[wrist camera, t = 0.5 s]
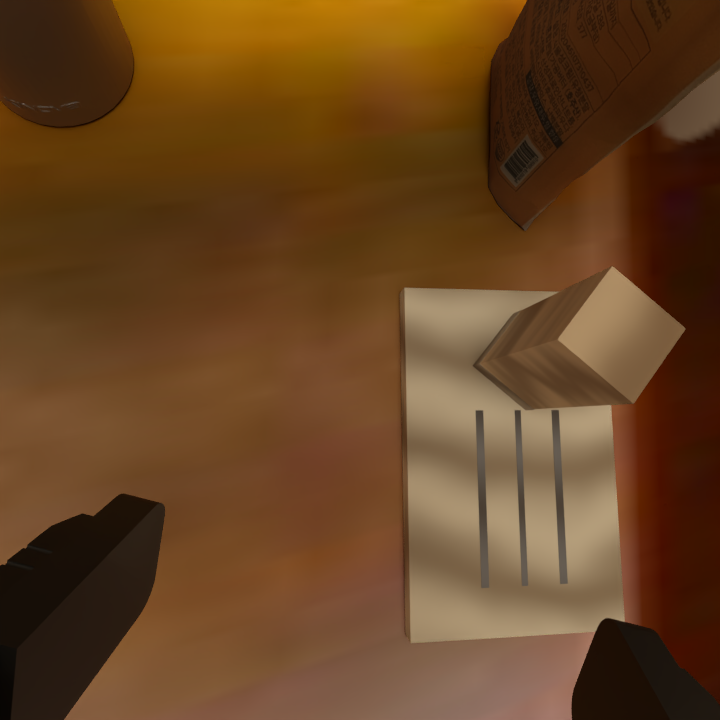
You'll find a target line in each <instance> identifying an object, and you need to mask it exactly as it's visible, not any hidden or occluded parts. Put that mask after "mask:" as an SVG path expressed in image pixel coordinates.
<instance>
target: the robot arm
mask: <svg viewBox="0 0 720 720" xmlns="http://www.w3.org/2000/svg"><path fill="white" fill-rule="evenodd" d="M133 64H134V58H133V53H132V48H131V45H130V42H129V40H128V38H127V35H126V33H125V30H124V28H123V26H122V23H121V21H120V19H119V16H118V14H117V11H116V9H115V7H114V4H113V2H112V0H0V101H2V102H3V103H4V104H5V105H6V106H7V107H8V108H9V109H10V110H11V111H13V112H15V113H16V114H18V115H20V116H21V117H23V118H25V119H27V120H30V121H33V122H35V123H38V124H42V125H48V126H55V127H63V126H75V125H80V124H84V123H88V122H90V121H93V120H95V119H97V118H99V117H101V116H103V115H104V114H106V113H107V112H109V111H110V110H111V109H113V108H114V107H115V106H116V105H117V103H118V102H119V101H120V100H121V99H122V98H123V96H124V95H125V93H126V91H127V89H128V87H129V86H130V82H131V79H132V75H133ZM164 517H165V507H164V505H163V504H162V503H159V502H155V501H151V500H147V499H143V498H139V497H135V496H131V495H127V494H120V495H118V496H117V497H116V498H114V499H113V500H112V501H111V502H110V503H109V504H107V505H106V506H105V507H104V508H103V509H102V510H100V511H99V512H98V513H97V514H96V515H95V516H90V515H86V514H80V515H77V516H75V517H72V518H70V519H67V520H65V521H62V522H60V523H57V524H55V525H53V526H51V527H49V528H48V529H47V530H46V531H44V532H43V533H42V534H40V535H39V536H38V537H37V538H35V539H34V540H33V541H32V542H30V543H29V544H28V546H27V548H26V549H25V548H23V549H21V550H20V551H19V552H18V553H16V554H15V555H14V556H12V557H11V558H10V559H9V560H8V561H7V563H6V565H3V564H2V565H1V566H0V720H64V719H65V717H66V716H67V714H68V713H69V712H70V710H71V709H72V708H73V706H74V705H75V703H76V702H77V701H78V699H79V698H80V697H81V695H82V694H83V692H84V691H85V690H86V688H87V687H88V686H89V684H90V683H91V681H92V680H93V679H94V677H95V676H96V675H97V673H98V672H99V670H100V669H101V668H102V666H103V665H104V664H105V662H106V661H107V659H108V658H109V657H110V655H111V654H112V653H113V651H114V650H115V648H116V647H117V646H118V644H119V643H120V641H121V640H122V639H123V637H124V636H125V635H126V633H127V632H128V630H129V629H130V628H131V626H132V625H133V624H134V622H135V621H136V619H137V618H138V617H139V615H140V614H141V612H142V610H143V609H144V607H145V605H146V603H147V601H148V598H149V596H150V593H151V591H152V588H153V584H154V580H155V575H156V569H157V562H158V556H159V549H160V543H161V536H162V530H163V523H164ZM572 720H720V706H719V704H718V703H717V701H716V700H715V698H714V697H713V696H712V695H710V694H709V693H708V692H707V691H706V690H705V689H704V688H703V687H702V686H701V685H700V684H699V683H698V682H697V681H696V680H695V679H694V678H693V677H692V676H691V675H690V674H689V673H688V672H687V671H686V670H685V669H682V668H680V667H679V666H678V664H677V663H676V661H675V660H674V658H673V657H672V655H671V654H670V652H669V651H668V649H667V647H666V646H665V644H664V643H663V641H662V640H661V638H660V637H659V635H658V634H657V633H656V632H655V631H654V630H652V629H650V628H646V627H643V626H639V625H635V624H631V623H627V622H623V621H619V620H615V619H611V618H605V619H603V620H602V621H601V622H600V624H599V625H598V628H597V630H596V632H595V635H594V638H593V640H592V643H591V645H590V648H589V651H588V653H587V656H586V658H585V661H584V664H583V666H582V669H581V671H580V674H579V677H578V679H577V682H576V684H575V687H574V691H573V696H572Z"/></svg>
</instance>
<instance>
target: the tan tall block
mask: <svg viewBox="0 0 720 720" xmlns="http://www.w3.org/2000/svg"><path fill="white" fill-rule="evenodd" d="M684 330H685V328H684V327H683V326H682V325H681V324H680V323H678V322H677V321H676V320H675V319H674V318H673V317H671V316H670V315H669V314H668V313H667V312H666V311H664V310H663V309H662V308H661V307H660V306H659V305H657V304H656V303H655V302H654V301H653V300H651V299H650V298H649V297H648V296H647V295H646V294H644V293H643V292H642V291H641V290H640V289H639V288H637V287H636V286H635V285H634V284H633V283H632V282H630V281H629V280H628V279H627V278H626V277H625V276H623V275H622V274H621V273H620V272H619V271H617V270H616V269H615V268H614V267H613V266H611V267H609V268H607V269H605V270H603V271H601V272H599V273H597V274H595V275H593V276H591V277H589V278H587V279H585V280H583V281H581V282H579V283H576V284H574V285H572V286H570V287H568V288H566V289H564V290H562V291H560V292H558V293H556V294H554V295H552V296H550V297H548V298H546V299H544V300H542V301H540V302H538V303H536V304H533V305H531V306H529V307H527V308H525V309H523V310H520V311H518V312H516V313H514V314H512V316H511V317H510V318H509V319H508V321H507V322H506V323H505V325H504V326H503V327H502V328H501V330H500V331H499V332H498V334H497V335H496V336H495V337H494V339H493V340H492V341H491V343H490V344H489V345H488V347H487V348H486V349H485V350H484V352H483V353H482V354H481V356H480V357H479V358H478V359H477V361H476V362H475V363H474V365H473V367H475V368H476V369H477V370H478V371H479V372H481V373H482V374H483V375H484V376H485V377H486V378H488V379H489V380H490V381H491V382H492V383H494V384H495V385H496V386H497V387H498V388H500V389H501V390H502V391H503V392H504V393H506V394H507V395H508V396H509V397H510V398H511V399H513V400H514V401H515V402H516V403H517V404H519V405H520V406H521V407H522V408H523V409H525V410H534V409H547V408H565V407H583V406H601V405H619V404H634V402H635V401H636V399H637V398H638V396H639V395H640V394H641V392H642V391H643V389H644V388H645V386H646V385H647V384H648V382H649V381H650V379H651V378H652V376H653V375H654V373H655V372H656V371H657V369H658V368H659V366H660V365H661V363H662V362H663V360H664V359H665V358H666V356H667V355H668V353H669V352H670V350H671V349H672V348H673V346H674V345H675V343H676V342H677V340H678V339H679V337H680V336H681V335H682V333H683V332H684Z"/></svg>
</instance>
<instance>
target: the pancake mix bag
mask: <svg viewBox="0 0 720 720" xmlns="http://www.w3.org/2000/svg"><path fill="white" fill-rule="evenodd" d="M719 70H720V0H527V2H526V4H525V6H524V8H523V9H522V11H521V13H520V15H519V17H518V19H517V21H516V23H515V25H514V27H513V29H512V31H511V33H510V36H509V37H508V38H507V39H505V40H504V41H503V42H502V43H500V44H499V46H498V48H497V50H496V52H495V55H494V57H493V59H492V61H491V104H490V160H489V181H488V187H489V189H490V191H491V193H492V195H493V196H494V198H495V200H496V202H497V204H498V205H499V206H500V207H501V208H502V209H503V210H504V211H505V212H506V213H507V214H508V216H509V217H510V218H511V219H512V220H514V221H515V222H516V223H517V224H518V225H519V226H521V227H522V228H523V229H524V230H525V231H526V230H527V229H528V227H529V226H530V224H531V223H532V222H533V220H534V219H535V218H536V217H537V216H538V215H539V214H540V213H541V212H542V211H543V210H544V209H545V208H546V207H547V206H549V205H550V204H551V203H552V202H553V201H554V200H555V199H556V198H557V197H558V195H559V194H560V193H561V192H562V190H563V189H564V188H565V187H567V186H568V185H569V184H570V183H571V182H572V181H574V180H575V179H577V178H578V177H580V176H582V175H583V174H585V173H586V172H588V171H589V170H590V169H591V168H592V167H593V166H595V165H596V164H597V163H598V162H599V161H601V160H602V159H603V158H605V157H606V156H608V155H609V154H610V153H612V152H613V151H614V150H616V149H617V148H618V147H620V146H621V145H622V144H624V143H625V142H626V141H627V140H629V139H630V138H631V137H632V136H634V135H635V134H637V133H638V132H640V131H642V130H643V129H645V128H647V127H648V126H650V125H651V124H653V123H655V122H656V121H657V120H658V119H660V118H661V117H662V116H663V115H665V114H666V113H667V112H669V111H670V110H671V109H672V108H673V107H674V106H676V105H677V104H678V103H679V102H680V101H681V100H682V99H683V98H684V97H686V96H687V95H688V94H689V93H690V92H691V91H692V90H693V89H695V88H696V87H697V86H699V85H700V84H701V83H703V82H704V81H706V80H707V79H708V78H710V77H711V76H712V75H714V74H715V73H717V72H718V71H719Z"/></svg>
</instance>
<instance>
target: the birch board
mask: <svg viewBox="0 0 720 720" xmlns="http://www.w3.org/2000/svg"><path fill="white" fill-rule="evenodd" d="M556 293H558V292H543V291H505V290H468V289H430V288H404V289H403V290H402V291H401V293H400V336H401V397H402V458H403V519H404V581H405V634H406V636H407V637H408V639H409V641H410V643H424V642H440V641H456V640H472V639H488V638H503V637H519V636H535V635H551V634H567V633H583V632H596V630H597V628H598V625H599V624H600V622H601V621H602V620H603V619H605V618H611V619H615V620H619V621H623V622H625V618H624V603H623V587H622V571H621V555H620V540H619V524H618V508H617V492H616V477H615V461H614V445H613V429H612V414H611V405H601V406H583V407H565V408H547V409H534V410H525V409H523V408H522V407H521V406H520V405H519V404H517V403H516V402H515V401H514V400H513V399H511V398H510V397H509V396H508V395H507V394H506V393H504V392H503V391H502V390H501V389H500V388H498V387H497V386H496V385H495V384H494V383H492V382H491V381H490V380H489V379H488V378H486V377H485V376H484V375H483V374H482V373H481V372H479V371H478V370H477V369H476V368H475V367H473V365H474V363H475V362H476V361H477V359H478V358H479V357H480V356H481V354H482V353H483V352H484V350H485V349H486V348H487V347H488V345H489V344H490V343H491V341H492V340H493V339H494V337H495V336H496V335H497V334H498V332H499V331H500V330H501V328H502V327H503V326H504V325H505V323H506V322H507V321H508V319H509V318H510V317H511V316H512V314H514V313H516V312H518V311H520V310H523V309H525V308H527V307H529V306H531V305H533V304H536V303H538V302H540V301H542V300H544V299H546V298H548V297H550V296H552V295H554V294H556Z"/></svg>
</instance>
